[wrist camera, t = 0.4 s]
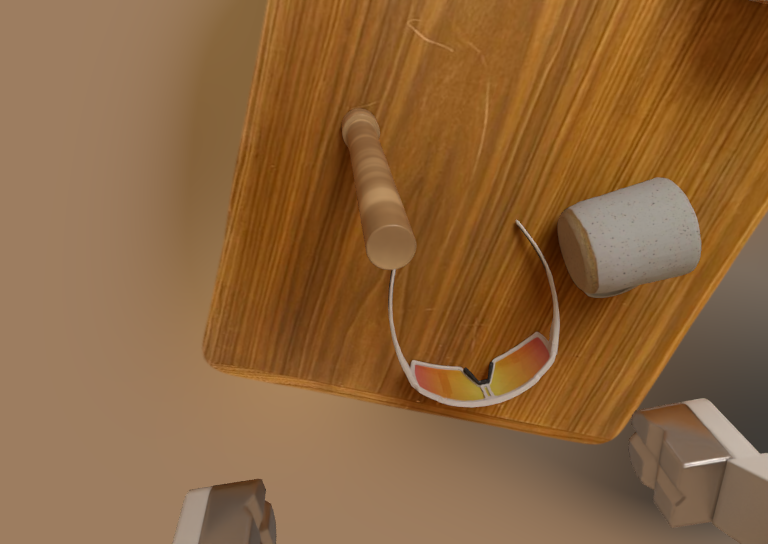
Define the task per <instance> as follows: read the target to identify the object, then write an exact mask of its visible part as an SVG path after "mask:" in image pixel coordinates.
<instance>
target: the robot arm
mask: <svg viewBox="0 0 768 544" xmlns="http://www.w3.org/2000/svg"><path fill="white" fill-rule="evenodd" d="M631 425H632V426H633V428H634V429H635V430H636V432H635V433H634V434H633V435H632V436H631V438H630V439H629V449H628V451H629V455H630V460H631V464H632V466H633V468H634V471H635V473H636V474H637V476H638V478H639V479H640V481H641V482H642V483H643V484H645V485H646V486H648V487H650V488H651V489H653V490H655V491H654V498H653V501H654V503H655V504H656V505H657V507H658V509H659V510H660V512H661V513H662V515H663V516H664V518H665V519H666V521H667V522H668V524H669V525H670V527H671V528H674V527H680V526H687V525H694V524H700V523H707V522H712V524H713V525H714V526H716V527H717V528H719V529H720V530H721V531H723V532H724V533H726V534H727V535H729V536H730V537H732V538H733V539H734V540H736V541H737V542H739V543H740V544H768V453H763V454H759V452H758V451H757V450H756V449H755V448H754V447H753V446H752V445H751V444H750V443H749V442H748V441H747V440H746V439H745V437H743V435H742V434H741V433H740V432H739V431H738V430H737V429H736V428H735V427H734V426H733V425H732V424H731V423H730V422H729V421H728V420H727V419H726V418H725V417H724V416H723V414H722V413H720V411H719V410H718V409H717V408H716V407H715V406H714V405H713V404H712V403H711V402H710V401H709V400H707V399H704V398H701V399H695V400H691V401H685V402H681V403H673V404H668V405H663V406H658V407H652V408H647V409H642V410H636V411H635V412H634V413H633V415H632V419H631ZM265 493H266V489H265V486H264V484H263V481H262V480H261V479H254V480H249V481H241V482H235V483H229V484H222V485H215V486H211V487H205V488H198V489H192V490H189V492H188V493H187V495H186V496H185V499H184V502H183V506H182V510H181V513H180V517H179V521H178V525H177V528H176V532H175V535H174V540H173V543H172V544H276V522H275V517H274V512H273V509H272V506H271V504H270V503H269V502H267V501H265Z"/></svg>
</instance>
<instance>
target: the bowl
mask: <svg viewBox="0 0 768 544" xmlns="http://www.w3.org/2000/svg"><path fill="white" fill-rule="evenodd" d="M750 1H754V2H759V3H763V4H767V5H768V0H750Z"/></svg>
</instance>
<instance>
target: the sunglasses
mask: <svg viewBox="0 0 768 544" xmlns="http://www.w3.org/2000/svg"><path fill="white" fill-rule="evenodd" d="M516 224H517V226H518V227H519V228H520V229H521V231H522V232H523V233H524V235H525V236H526V237H527V238H528V240H529V241H530V243H531V244H532V246H533V247H534V249H535V250H536V252H537V254H538V256H539V257H540V259H541V261H542V263H543V266H544V268H545V271H546V273H547V277H548V281H549V284H550V288H551V292H552V297H553V320H552V324H551V328H550V338H549V341H548V340H547V339H546V338H545V337H544V336H543V335H542V334H540V333H539V332H535V333H534V334H533V335H531V336H530V337H529V338H527V339H526V340H524V341H523V342H522V343H520V344H519V345H517V346H516V347H514V348H513V349H511V350H509V351H508V352H506V353H504V354H503V355H501V356H499V357H497V358H495V359H493V361H492V362H490V365H489V371H488V379H485V380H481V381H478V380H477V379H476V378H475V376H474V375H473V374H472V373H471V372H470V371H469V370H468V369H467V368H464V369H463V368H461V367H450V366H440V365H434V364H428V363H423V362H419V361H415V360H412V361H411V365H410V367H409V365H408V363H407V362H406V360H405V358H404V356H403V354H402V352H401V350H400V347H399V344H398V341H397V339H396V334H395V329H394V324H393V314H392V297H393V285H394V277H395V271H396V269H395V270H391V277H390V284H389V297H388V313H389V322H390V329H391V334H392V340H393V344H394V347H395V350H396V354H397V357H398V359H399V362H400V364H401V366H402V368H403V370H404V372H405V374H406V376H407V378H408V380H409V382H410V384H411V386H412V387H413V388H415V389H416V390H417V391H418V392H419V393H421V394H423V395H425V396H426V397H429V398H431V399H433V400H436V401H438V402H440V403H443V404H446V405H451V406H457V407H481V406H489V405H493V404H497V403H501V402H503V401H506V400H509V399H511V398H514V397H516V396H517V395H519V394H521V393H523V392H524V391H526V390H527V389H529V388H531V387H532V386H533V385H534V384H536V383H537V382H538V381H539V379H540V378H541V377H542V376H543V375H544V373H545V372H546V371H547V370H548V369H549V368H550V366H551V365H552V364H553V363H554V360H555V357H556V354H557V350H558V340H559V329H560V320H559V308H558V301H557V294H556V289H555V285H554V280H553V277H552V274H551V271H550V268H549V266H548V264H547V262H546V260H545V258H544V256H543V254H542V252H541V250H540V249H539V247H538V246H537V244H536V243H535V241H534V240H533V239H532V237H531V236H530V234H529V233H528V232H527V231H526V229H525V228H524V227H523V225H522V224H521V223H520V222H519V221H518V220H516Z"/></svg>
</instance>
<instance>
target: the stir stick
mask: <svg viewBox="0 0 768 544" xmlns="http://www.w3.org/2000/svg"><path fill="white" fill-rule="evenodd" d="M341 129H342V137H343V140H344V142H345V144H346V145H347V146H348V147H349V152H350V158H351V164H352V170H353V176H354V182H355V188H356V194H357V200H358V206H359V212H360V218H361V223H362V229H363V235H364V241H365V247H366V253H367V256H368V258H369V260H370V261H371V262H372V263H373V264H374V265H375V266H377V267H379V268H381V269H385V270H395V269H399V268H401V267H403V266H405V265H406V264H408V263H409V262H410V261H411V259H412V258H413V256H414V254H415V251H416V240H415V237H414V234H413V232H412V229H411V226H410V223H409V221H408V218H407V215H406V212H405V210H404V207H403V204H402V201H401V199H400V196H399V193H398V191H397V188H396V185H395V182H394V180H393V177H392V174H391V171H390V169H389V166H388V163H387V160H386V158H385V155H384V152H383V150H382V147H381V144H380V141H379V137H380V129H379V126H378V123H377V121H376V119H375V117H374V115H373V114H372V113H371V112H369V111H368V110H365V109H360V108H358V109H353V110H351V111H349V112H348V113H347V114H346V115H345V116H344V118H343V120H342V124H341Z"/></svg>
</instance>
